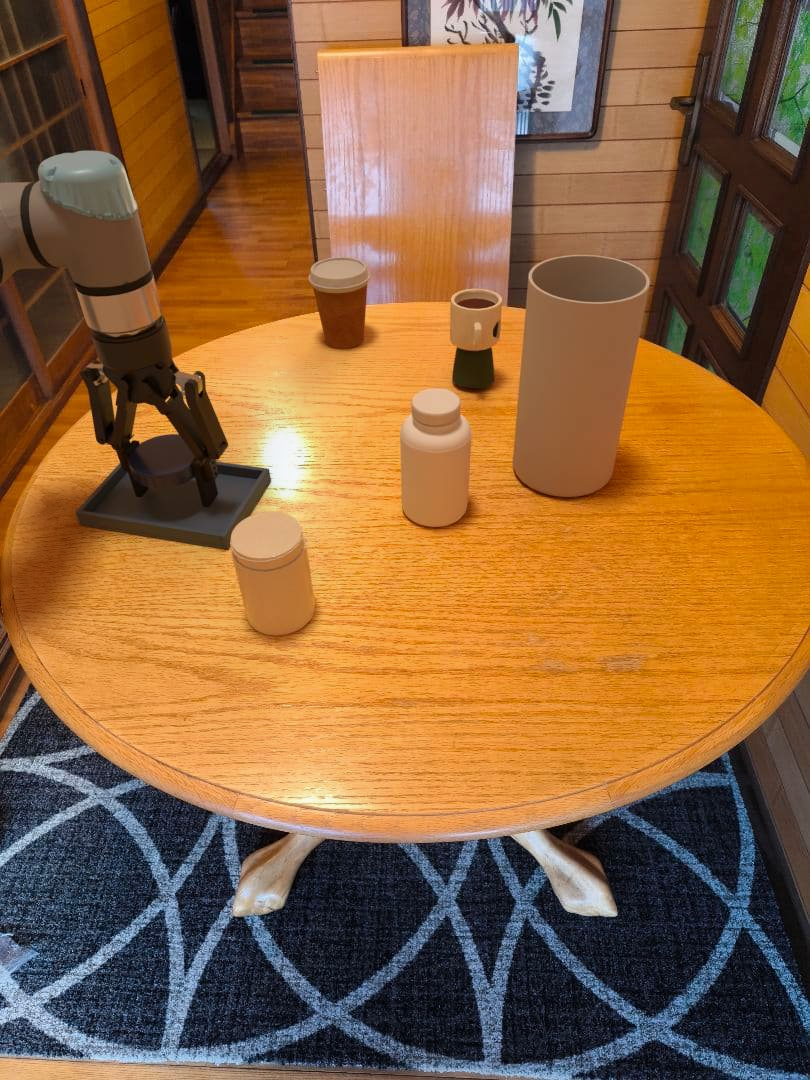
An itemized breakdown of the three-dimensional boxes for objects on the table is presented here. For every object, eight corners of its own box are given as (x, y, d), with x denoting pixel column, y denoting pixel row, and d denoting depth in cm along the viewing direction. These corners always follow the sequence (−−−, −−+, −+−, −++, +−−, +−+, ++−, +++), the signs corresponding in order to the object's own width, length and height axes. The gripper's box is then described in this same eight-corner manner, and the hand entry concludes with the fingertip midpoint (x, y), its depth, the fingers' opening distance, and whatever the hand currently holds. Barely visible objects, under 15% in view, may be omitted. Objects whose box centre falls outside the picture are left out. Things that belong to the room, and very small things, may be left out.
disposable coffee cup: (325, 358, 120) (317, 284, 112) (308, 332, 127) (300, 261, 119) (381, 346, 123) (378, 273, 115) (362, 322, 129) (358, 251, 121)
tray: (79, 525, 91) (74, 512, 90) (135, 461, 101) (131, 449, 99) (227, 549, 87) (224, 536, 86) (271, 481, 97) (269, 468, 95)
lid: (216, 451, 92) (213, 438, 91) (184, 493, 86) (180, 479, 85) (154, 442, 94) (150, 429, 93) (118, 483, 88) (113, 469, 87)
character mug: (500, 401, 109) (506, 315, 101) (450, 402, 110) (452, 317, 101) (493, 363, 118) (498, 281, 109) (447, 364, 118) (448, 282, 109)
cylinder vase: (566, 431, 103) (591, 246, 87) (633, 477, 95) (675, 283, 79) (492, 461, 98) (504, 272, 82) (556, 513, 90) (584, 314, 74)
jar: (235, 629, 78) (215, 552, 71) (262, 580, 83) (246, 505, 76) (301, 641, 77) (288, 564, 70) (324, 591, 82) (314, 515, 75)
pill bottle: (447, 537, 88) (449, 427, 78) (389, 515, 91) (383, 406, 81) (480, 500, 93) (485, 392, 83) (423, 480, 96) (422, 374, 86)
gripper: (236, 313, 78) (269, 488, 94) (57, 297, 83) (116, 466, 98) (204, 347, 73) (244, 527, 88) (15, 328, 77) (84, 502, 93)
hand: (177, 495), depth 93 cm, fingers closed on lid, 8 cm apart
